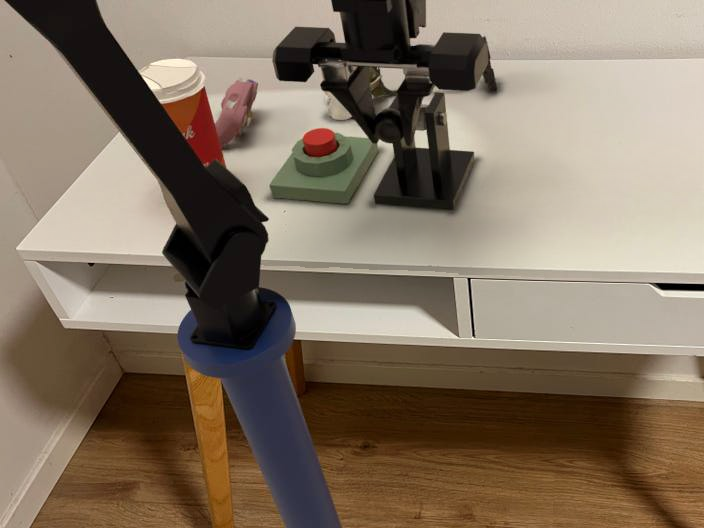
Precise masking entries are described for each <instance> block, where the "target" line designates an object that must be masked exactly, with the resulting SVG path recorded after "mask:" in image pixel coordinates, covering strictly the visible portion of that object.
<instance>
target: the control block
mask: <svg viewBox="0 0 704 528" xmlns="http://www.w3.org/2000/svg"><path fill="white" fill-rule="evenodd" d="M334 133H335V138H336V143H337V150H336V152H334V153H332V154H330V155H328V156H323V157H310V156H308V155H307V154H306V151H305V147H304V143H303V137H302V138H301V139H299V140H297V141H296V143H295V144H294V145H293V147H292V148H291V153H290V155H289V157H288V158H287V159H286V161H285V162H284V164H283V165H282V166H281V167H280V169H279V171H278V172H277V174H276V175H275V176H274V178H272V180H271V182H270V183H269V189H270V192H271V195H272V198H274V199H287V200H297V201H298V200H299V201H311V202H321V203H331V204H343V205H348V204H349V203H350V201H351V199H352V197H353V196H354V194H355V192H356V191H357V188H358V187H359V185H360V183H361V182H362V180H363V178H364V176H365V174H366V173H367V171H368V169H369V168H370V166H371V165H372V162H373V161H374V159H375V157H377V154H378V152H379V147H378V143H377V144H373V143H372V142H371V141H370V139H369V138H368V137H359V136H347V135H343V134H341V133H339V132H334Z"/></svg>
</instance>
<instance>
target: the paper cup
mask: <svg viewBox="0 0 704 528" xmlns="http://www.w3.org/2000/svg"><path fill="white" fill-rule="evenodd" d="M138 72H139V73H140V75H141V76H142V77H143V79H144V80H145V82H146V83H147V85H148V86H149V87H150V89H151V90H152V92H153V93H154V95H155V96H156V97H157V99H158V100H159V102H160V103H161V105H162V106H163V107H164V109H165V110H166V112H167V113H168V115H169V116H170V117H171V119H172V120H173V122H174V123H175V125H176V126H177V127H178V129H179V130H180V132H181V133H182V134H183V136H184V137H185V139H186V140H187V142H188V143H189V144H190V146H191V147H192V149H193V150H194V152H195V153H196V154H197V156H198V157H199V159H200V160H201V162H202V163H203V164H204V166H205V167H207V166H208V165H209V164H210V163H211V162H212V161H213V160H214V159H217V160H218V161H219V162H220V163H221V164H223V165H224V166H225V167H226V168H227V165H226V161H225V157H224V152H223V150H222V147H221V145H220V142H219V138H218V134H217V130H216V127H215V120H214V116H213V112H212V108H211V105H210V101H209V97H208V93H207V90H206V89H207V88H206V86H205V84H206V79H207V78H206V76H205V74H204V73H203V72H202V71H201V70H200V69H199V67H198V65H197V64H196V63H194V62H193V61H192V60H189V59H184V58H167V59H161V60H157V61H154V62H151V63H149V64H148V66H143V67H142V68H141V69H139V70H138Z"/></svg>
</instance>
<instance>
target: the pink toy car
mask: <svg viewBox="0 0 704 528" xmlns="http://www.w3.org/2000/svg"><path fill="white" fill-rule="evenodd" d="M258 87H259V82H257V81H256V80H255V81H254V80H253V79H249V78H245V79H244V78H242V77H241V76H239V78H238V79H237V80H236V81H235V82H234V83H233V84H231V85H230V86H229V87H228V88H227V89H226V91H225V95H224V97H223V98H222V101H221V102H220V107H221V112H220V115H219V116H218V119H217V120H216V121H214V123H215V127H216V130H217V134H218V138H219V142H220V145H221V148H223V147H225V146H226V145H228V144H229V143H231V142H232V141H233V140H234V139H235V138H239V139H240V138H241V136H242V133H243V131H244V128H245V126H246V128H247V127H248V126H249V125H250V124H251V119H252V117H253V115H252V113H251V110H252V107H253V105H254V102H255V101H256V99H257V94H258Z"/></svg>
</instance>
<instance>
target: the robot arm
mask: <svg viewBox="0 0 704 528" xmlns="http://www.w3.org/2000/svg"><path fill="white" fill-rule="evenodd" d="M4 2H5V3H7V4H8V6H10V7H11V8H12V9H13V10H14V11H15V12H16V13H17V14H18V15H19V16H20V17H21V18H22V19H24V20H25V21H26V22H27V24H29V25H30V26H31V27H32V28H33V29H34V30H36V31H37V32H38V33H39V34H40V35H41V36H42V37H43V38H44V39H45V40H47V41H48V42H49V43H50V45H51V46H52V47H53V49H54V50H55V51H56V53H57V54H58V55H59V56H60V57H61V59H62V60H63V61H64V62H65V64H66V65H67V66H68V68H69V69H70V70H71V72H72V73H73V74H74V75H75V77H76V78H77V79H78V80H79V82H80V83H81V85H83V87H84V88H85V90H86V91H87V93H88V94H89V95H90V96H91V97H92V98H93V100H94V101H95V102H96V103H97V105H98V106H99V108H100V109H101V110H102V111H103V112H104V114H105V115H106V116H107V118H108V119H109V120H110V121H111V123H112V124H113V126H114V127H115V128H116V129H117V131H118V132H119V133H120V135H122V137H123V138H124V140H125V142H127V144H129V145H130V147H131V148H132V150H133V151H134V153H135V154H136V155H137V156H138V157H139V159H140V160H141V161H142V162H143V164H144V165H145V167H146V168H147V169H148V170H149V171H150V173H151V174H152V175H153V176H154V178H155V180H156V181H157V183H158V186H159V188H160V189H161V193H162V196H163V199H164V202H165V204H166V206H167V208H168V211H169V212H170V214H171V216H172V218H173V220H174V222H175V225H174V226H173V228H172V231H171V233H170V234H169V236H168V239H167V241H166V243H165V244H164V247H163V249H162V251H161V253H162V255H163V256H164V258H166V260H167V262H169V264H170V265H171V266H172V267H173V268H174V269H175V270H176V272H177V273H178V274H179V275H180V277H181V278H182V279H183V280H184V285H185V289H186V293H185V295H184V297H185V299H186V301H187V304H188V306H189V308H190V310H191V311H192V313H193V315H194V317H195V320H196V322H197V324H198V326H197V327H196V329H195V330H194V332H193V333H192V335H191V336H190V340H191V342H192V343H194V344H201V345H209V346H216V347H224V348H232V349H240V350H251V349H253V348H254V346H255V344H256V343H257V341H258V339H259V338H260V336H261V334H262V332H263V331H264V329H265V327H266V326H267V324H268V322H269V321H270V319H271V317H272V315H273V314H274V312H275V310H276V309H277V305H276V303H275V302H272V301H264V300H261V299H260V298H261V295H260V292H259V289H258V287H260V277H261V266H262V265H261V264H262V256H263V254H264V252H265V250H266V247H267V244H268V243H269V241H270V238H269V233H268V230H267V228H266V225H264V224H263V223H267V222H268V221H269V220H270V218H269V217H268V216H267V215H266V214H265V213H264V212H263V211H262V210H261V209H259V207H257V205H256V204H255V202H254V200H253V197H252V194H251V193H250V191H249V189H248V187H247V186H246V185H245V183H244V182H242V181H241V180H240V179H239V178H238V177H237V176H236V175H235V174H234V173H233V172H232V171H230V170H229V169H228V168H227V166H226V167H225V166H224V165H223V164H221V163H220V162H219V161H218V160H217V159H214V160H213V161H212V162H211V163H210V164H209V165H208V166H207V167H205V166H204V164H203V163H202V162H201V160H200V159H199V157H198V156H197V154H196V153H195V152H194V150H193V149H192V147H191V146H190V144H189V143H188V142H187V140H186V139H185V137H184V136H183V134H182V133H181V132H180V130H179V129H178V127H177V126H176V125H175V123H174V122H173V120H172V119H171V117H170V116H169V115H168V113H167V112H166V110H165V109H164V107H163V106H162V105H161V103H160V102H159V100H158V99H157V97H156V96H155V95H154V93H153V92H152V90H151V89H150V87H149V86H148V85H147V83H146V82H145V80H144V79H143V77H142V76H141V75H140V73H139V72H138V71H139V70H138V69H137V67H136V66H135V65H134V63H133V61H132V60H131V59H130V57H129V56H128V55H127V53H126V52H125V50H124V49H123V48H122V46H121V44H120V43H119V42H118V40H117V39H116V37H115V36H114V34H113V33H112V32H111V30H110V29H109V28H108V26H107V24H106V22H105V20H104V18H103V16H102V12H101V10H100V7H99V4H98V0H4ZM330 2H331V8H332V11H333V13H339V16H340V21H341V28H342V33H343V38H344V42H337V40H336V35H335V33H334V32H333V30H332V29H330V27H317V26H316V27H313V26H294V28H292V29H291V31H290V32H289V33H288V34H287V35H286V36H285V37H284V38H283V39H282V40H281V41H280V42H279V43H278V45H277V46H275V48H274V50H273V51H272V59H271V61H272V65H273V69H274V73H275V78H276V79H277V80H278V81H279V82H291V83H307V82H308V80H309V79H310V78H311V77H312V75H313V74H314V73H315V68H314V65H317V67H318V68H320V72H321V76H322V81H321V82H320V84H319V86H320V89H321V91H322V92H324V91H326V92H330V93H331V94H332V95H333V96H334V97H335V98H336V99H337V100H338V101H339V102H340V103H341V104H342V105H343V107H344V108H345V109H346V110H347V111H348V112H349V113H350V114H351V116H352V117H351V118H353V119H354V121H355V123H356V124H357V125H358V126H359V128H360V129H361V131H362V132H363V133H364V134H365V135H366V138H369V139H370V141H371V142H372V143H373V144H377V145H378V143H379V141H380V139H379V138H378V137H377V136H376V134H375V132H374V128H373V123H374V119H375V117H376V115H377V111H376V107H375V103H374V99H373V97H374V96H373V95H372V93H371V88H370V83H369V73H370V67H377V68H378V67H379V69H401V70H402V72H403V75H404V78H403V80H402V81H401V83H400V85H399V86H398V87H397V93H396V95H397V97H398V104H399V111H400V117H401V124H402V131H403V137H404V140H405V143H406V146H411V144H412V143H413V140H414V139H415V135H416V131H417V130H416V126H417V122H418V117H419V113H420V108H421V104H423V100H424V98H426V97H429V96H430V95H431V94H432V93H433V91H434V89H435V88H437V89H438V90H441V91H460V92H469V91H472V90H475V89H476V88H477V86H478V85H479V82H480V80H481V79H482V77H483V75H482V74H483V72H484V70H485V68H486V66H487V64H488V48H489V46H488V47H487V44H488V42H487V43H486V41H487V40H486V41H485V40H484V39H483V37H484V36H482V35H481V33H471V32H468V33H467V32H442V34H441V35H440V36H439V39H438V40H437V42H436V43H435V44H425V43H423V44H421V43H419V44H415V45H412V44H411V43H412V42H411V40H412V39H417V38H418V36H419V35H420V28H422V29H423V28H426V27H427V0H330ZM247 345H248V346H247Z"/></svg>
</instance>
